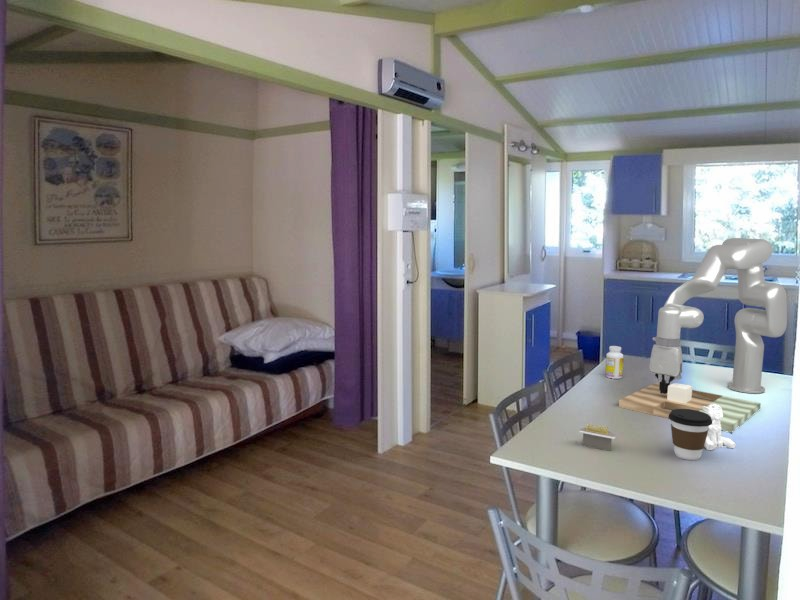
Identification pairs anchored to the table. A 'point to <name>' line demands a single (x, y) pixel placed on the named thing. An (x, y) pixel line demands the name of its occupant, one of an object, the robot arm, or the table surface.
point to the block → (679, 393)
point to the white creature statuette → (716, 429)
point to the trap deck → (691, 405)
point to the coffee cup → (689, 432)
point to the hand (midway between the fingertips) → (664, 392)
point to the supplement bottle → (614, 363)
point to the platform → (597, 437)
